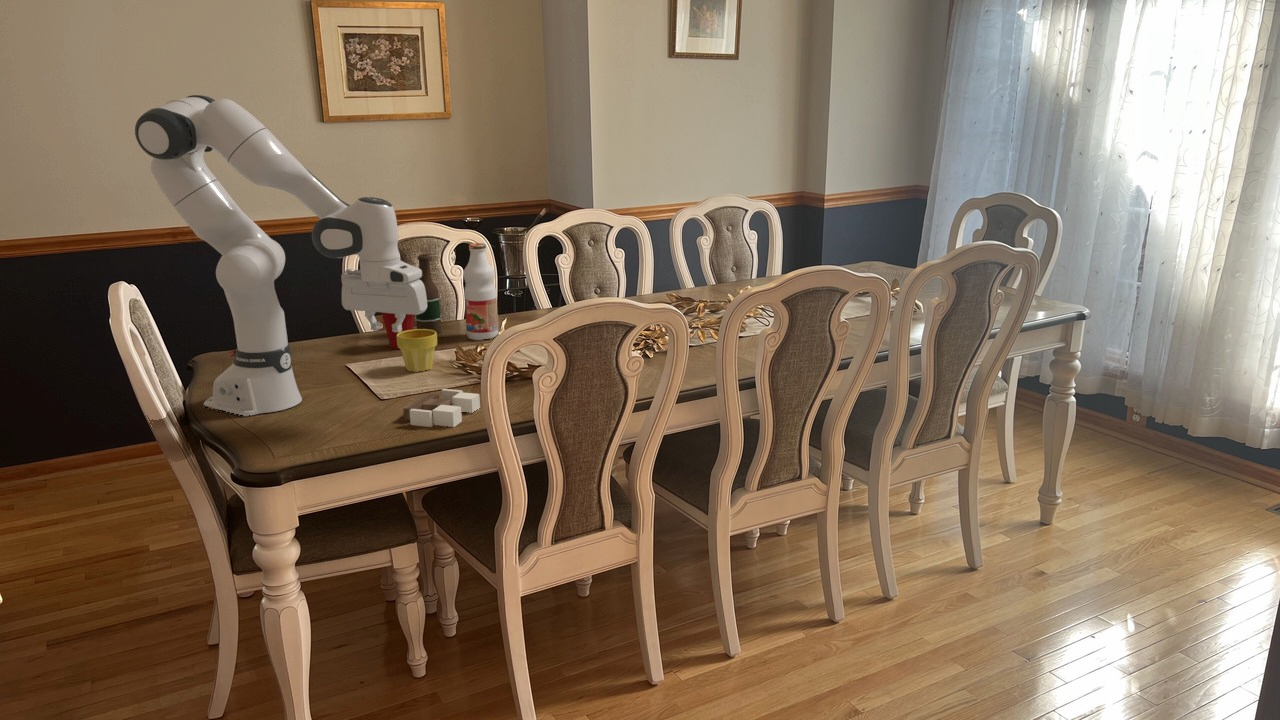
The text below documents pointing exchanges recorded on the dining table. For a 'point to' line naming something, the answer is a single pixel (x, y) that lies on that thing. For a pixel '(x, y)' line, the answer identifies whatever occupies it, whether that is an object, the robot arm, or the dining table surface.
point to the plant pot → (417, 348)
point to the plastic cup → (390, 319)
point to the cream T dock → (447, 410)
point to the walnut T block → (425, 404)
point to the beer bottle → (429, 299)
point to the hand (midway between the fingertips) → (386, 330)
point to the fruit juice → (480, 295)
